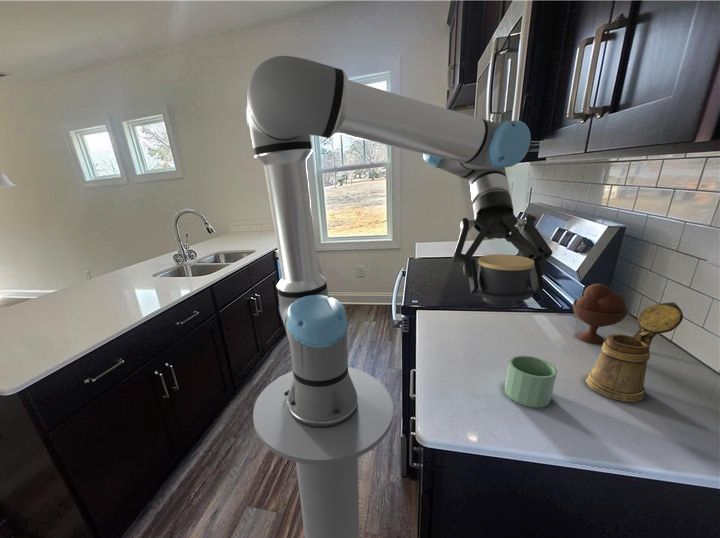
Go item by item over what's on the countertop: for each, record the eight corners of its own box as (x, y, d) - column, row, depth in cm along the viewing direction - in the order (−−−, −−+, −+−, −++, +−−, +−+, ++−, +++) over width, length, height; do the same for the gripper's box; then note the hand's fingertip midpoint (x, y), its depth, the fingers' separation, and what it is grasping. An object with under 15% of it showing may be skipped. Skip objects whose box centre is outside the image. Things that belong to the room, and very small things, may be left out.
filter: (471, 308, 62) (476, 266, 59) (467, 290, 72) (472, 252, 69) (536, 313, 59) (546, 268, 55) (523, 293, 68) (531, 254, 65)
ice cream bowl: (563, 341, 84) (576, 288, 79) (567, 326, 92) (580, 277, 87) (617, 353, 78) (635, 296, 72) (616, 335, 86) (633, 283, 80)
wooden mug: (672, 392, 64) (706, 310, 57) (620, 406, 61) (649, 321, 55) (623, 368, 72) (648, 294, 65) (575, 380, 69) (596, 304, 63)
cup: (508, 403, 64) (513, 374, 61) (501, 380, 71) (506, 353, 68) (555, 410, 61) (563, 380, 58) (543, 386, 68) (550, 358, 65)
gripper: (541, 209, 71) (563, 299, 63) (433, 214, 76) (440, 298, 67) (558, 185, 65) (585, 281, 56) (439, 192, 69) (447, 282, 60)
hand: (506, 290), depth 61 cm, fingers closed on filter, 11 cm apart
